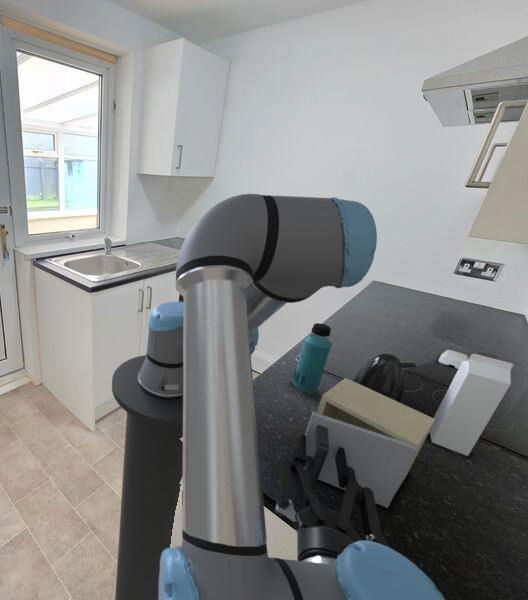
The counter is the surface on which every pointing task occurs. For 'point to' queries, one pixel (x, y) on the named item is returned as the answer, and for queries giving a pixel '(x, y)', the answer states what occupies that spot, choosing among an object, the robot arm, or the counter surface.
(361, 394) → the oven
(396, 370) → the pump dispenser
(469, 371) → the milk
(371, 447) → the oven door
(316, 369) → the beverage bottle
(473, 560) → the counter surface
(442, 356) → the soap
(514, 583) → the counter surface
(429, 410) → the counter surface
